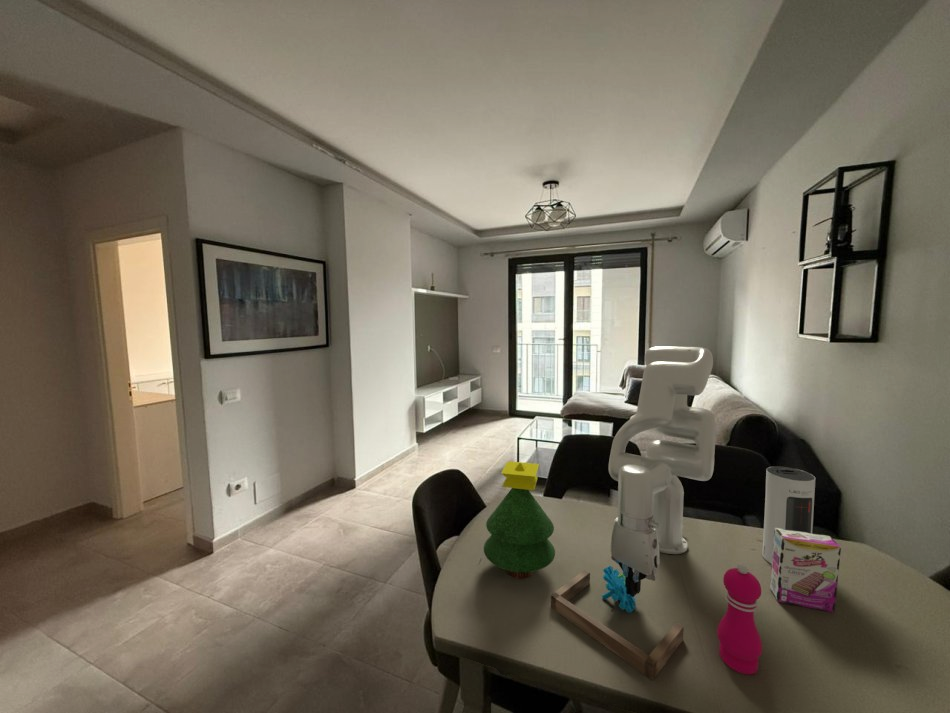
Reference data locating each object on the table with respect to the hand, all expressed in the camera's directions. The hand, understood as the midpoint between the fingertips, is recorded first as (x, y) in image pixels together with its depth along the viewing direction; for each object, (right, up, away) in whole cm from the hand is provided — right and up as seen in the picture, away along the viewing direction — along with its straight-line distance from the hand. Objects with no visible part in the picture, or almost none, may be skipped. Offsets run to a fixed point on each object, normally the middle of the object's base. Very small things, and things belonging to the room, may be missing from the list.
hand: (632, 592), depth 88 cm
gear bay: (-7, -3, -5) cm, 9 cm away
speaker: (+49, -1, +15) cm, 51 cm away
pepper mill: (+15, -4, -15) cm, 21 cm away
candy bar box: (+41, -3, 0) cm, 41 cm away
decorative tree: (-26, -2, +13) cm, 29 cm away
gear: (-3, -3, +1) cm, 4 cm away
